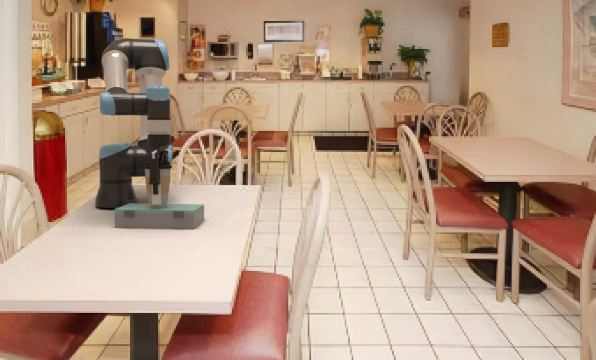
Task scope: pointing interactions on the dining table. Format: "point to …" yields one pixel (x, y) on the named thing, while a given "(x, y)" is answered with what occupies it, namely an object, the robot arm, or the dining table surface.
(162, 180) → the coffee cup
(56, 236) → the dining table surface
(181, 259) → the dining table surface
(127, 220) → the grey shallow open piece
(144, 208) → the cover
